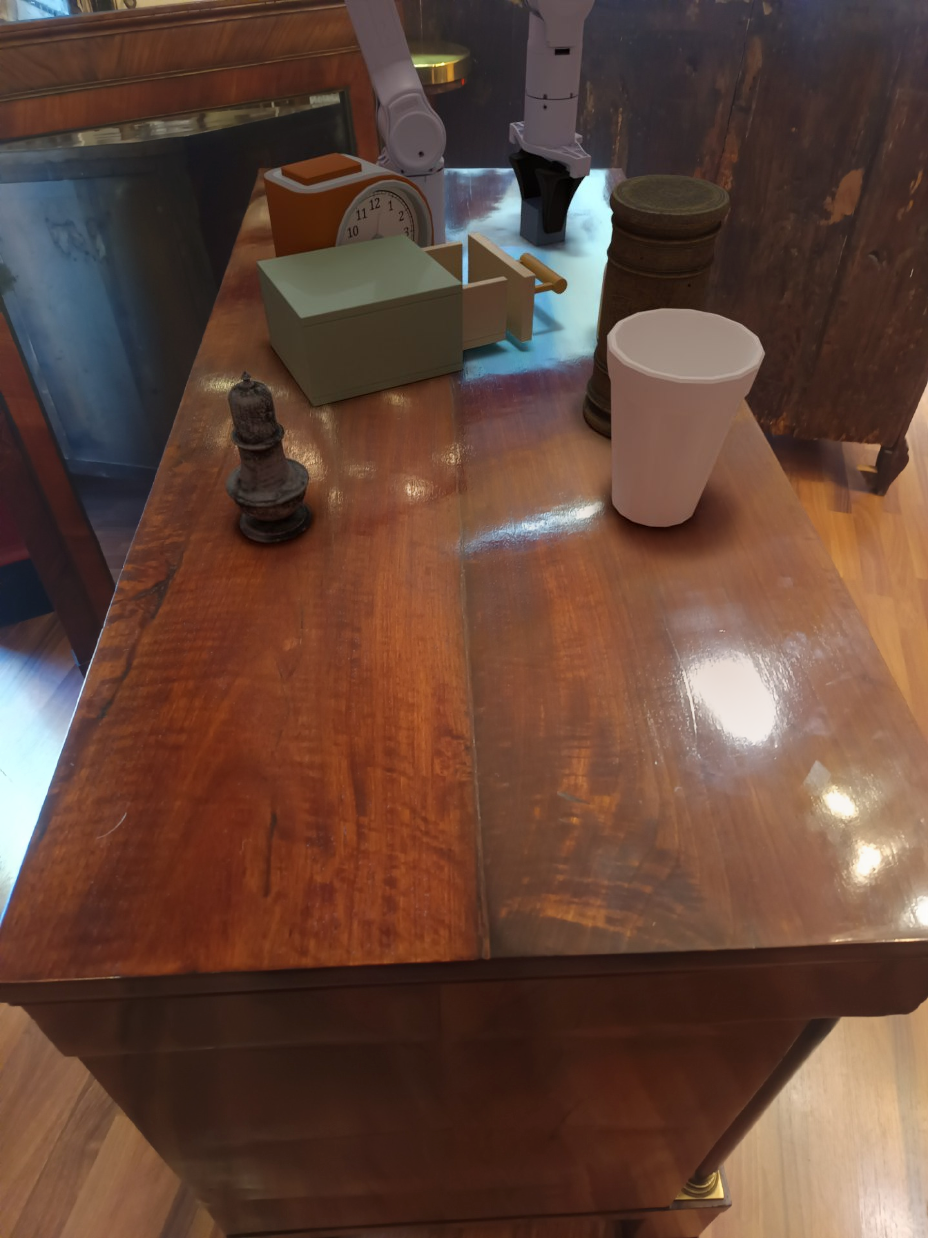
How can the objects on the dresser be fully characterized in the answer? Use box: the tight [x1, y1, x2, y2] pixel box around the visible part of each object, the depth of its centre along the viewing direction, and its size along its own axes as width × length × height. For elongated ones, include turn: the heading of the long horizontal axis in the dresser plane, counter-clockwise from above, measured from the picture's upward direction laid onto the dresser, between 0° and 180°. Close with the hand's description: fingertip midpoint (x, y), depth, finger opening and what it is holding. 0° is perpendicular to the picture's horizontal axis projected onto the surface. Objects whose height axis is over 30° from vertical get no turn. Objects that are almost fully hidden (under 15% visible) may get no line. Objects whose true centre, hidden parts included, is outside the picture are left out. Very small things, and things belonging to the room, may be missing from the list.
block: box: [519, 196, 568, 247], centre depth 97 cm, size 4×4×4 cm
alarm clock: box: [262, 152, 434, 258], centre depth 82 cm, size 15×8×14 cm, turn 132°
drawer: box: [421, 231, 568, 351], centre depth 78 cm, size 18×11×6 cm, turn 116°
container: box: [582, 174, 731, 438], centre depth 64 cm, size 9×9×18 cm
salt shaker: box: [225, 370, 313, 544], centre depth 56 cm, size 6×6×12 cm
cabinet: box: [255, 234, 464, 408], centre depth 75 cm, size 15×13×8 cm
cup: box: [607, 309, 766, 528], centre depth 57 cm, size 10×10×13 cm
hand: (543, 225), depth 98 cm, fingers closed on block, 4 cm apart
